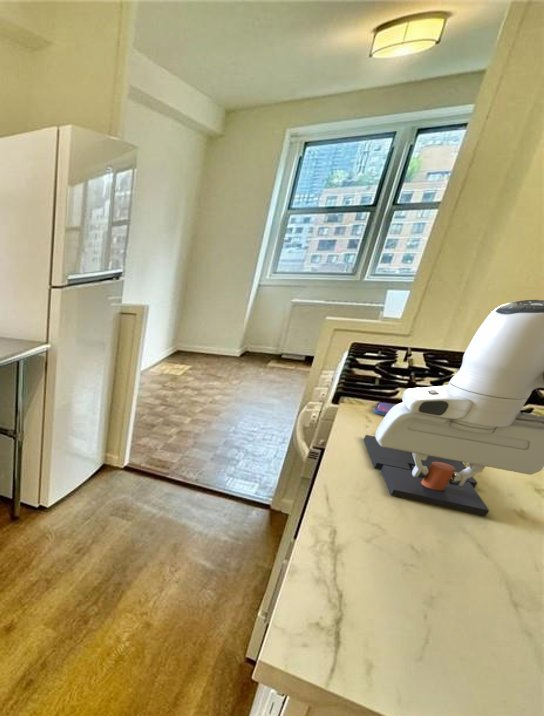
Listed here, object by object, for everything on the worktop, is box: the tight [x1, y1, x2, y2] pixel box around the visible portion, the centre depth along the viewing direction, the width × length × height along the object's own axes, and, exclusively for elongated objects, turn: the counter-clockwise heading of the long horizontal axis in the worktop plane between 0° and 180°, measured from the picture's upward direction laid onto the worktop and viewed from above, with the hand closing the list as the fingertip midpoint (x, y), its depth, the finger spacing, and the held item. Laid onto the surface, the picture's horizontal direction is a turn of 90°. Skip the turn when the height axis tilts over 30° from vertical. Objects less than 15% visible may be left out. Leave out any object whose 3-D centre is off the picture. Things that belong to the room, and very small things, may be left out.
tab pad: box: [380, 462, 490, 517], centre depth 84 cm, size 12×12×5 cm
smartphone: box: [373, 401, 396, 417], centre depth 111 cm, size 7×15×1 cm, turn 45°
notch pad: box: [363, 434, 478, 489], centre depth 93 cm, size 14×14×1 cm
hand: (435, 479), depth 83 cm, fingers open, 3 cm apart
